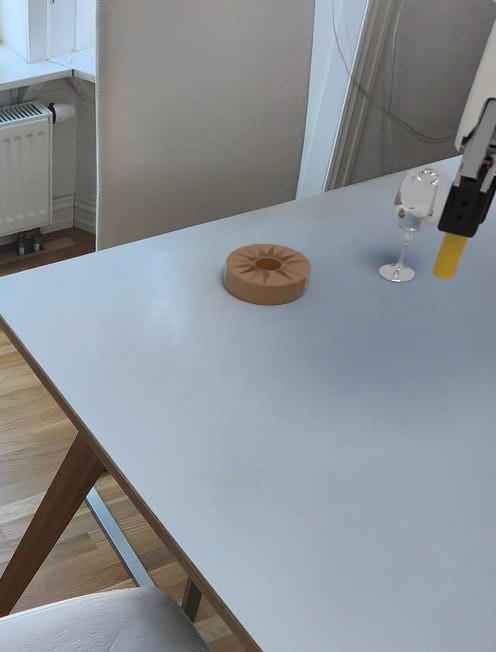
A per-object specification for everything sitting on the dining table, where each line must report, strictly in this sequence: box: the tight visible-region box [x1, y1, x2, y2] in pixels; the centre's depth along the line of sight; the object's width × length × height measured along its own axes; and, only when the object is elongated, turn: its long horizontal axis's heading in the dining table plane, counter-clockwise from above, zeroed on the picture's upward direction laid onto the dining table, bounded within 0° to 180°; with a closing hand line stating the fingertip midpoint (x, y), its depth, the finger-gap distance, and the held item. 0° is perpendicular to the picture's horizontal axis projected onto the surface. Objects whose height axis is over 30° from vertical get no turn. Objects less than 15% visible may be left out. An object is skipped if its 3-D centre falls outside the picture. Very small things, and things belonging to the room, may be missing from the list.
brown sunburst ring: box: [222, 243, 312, 306], centre depth 112 cm, size 10×10×3 cm
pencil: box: [431, 160, 491, 280], centre depth 78 cm, size 2×2×10 cm
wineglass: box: [378, 167, 449, 283], centre depth 108 cm, size 6×6×12 cm
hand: (460, 224), depth 78 cm, fingers closed on pencil, 2 cm apart
